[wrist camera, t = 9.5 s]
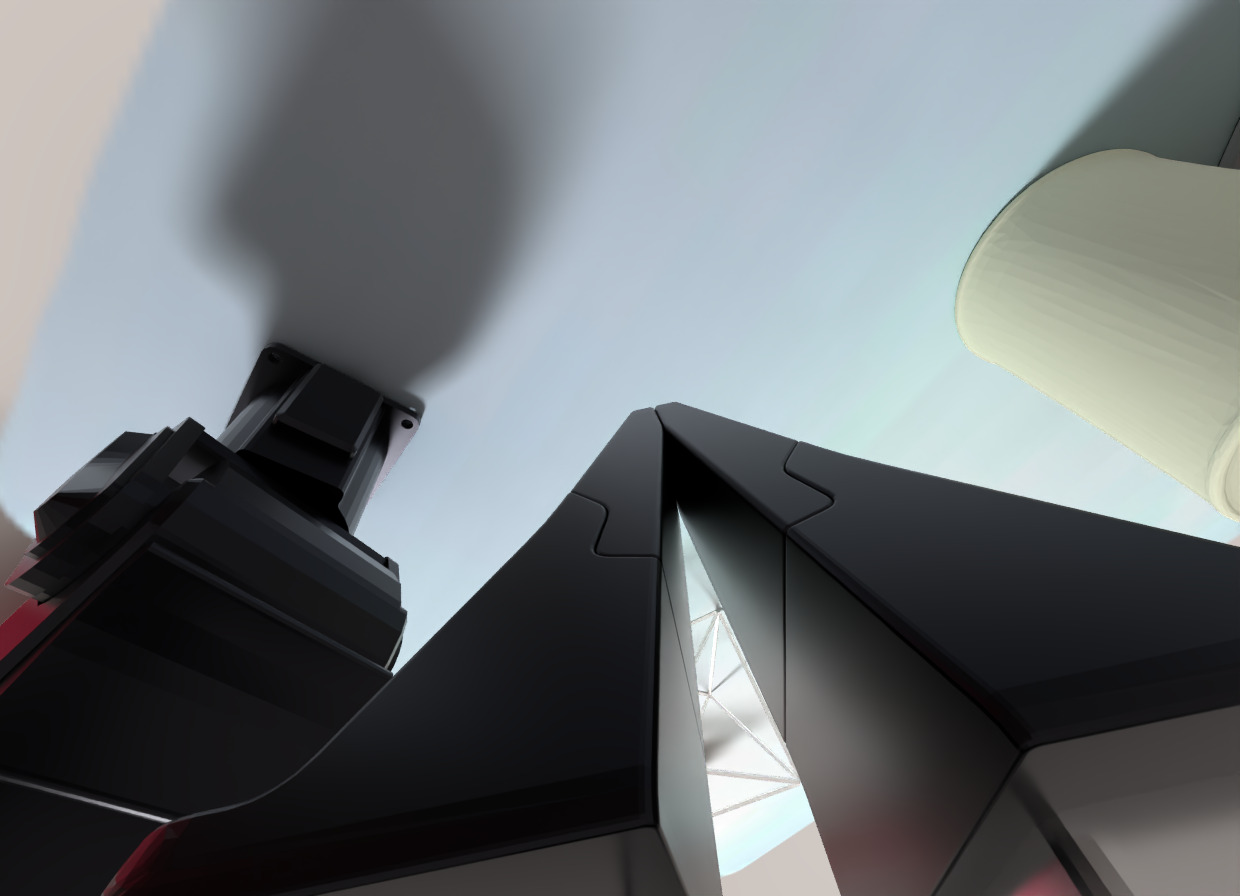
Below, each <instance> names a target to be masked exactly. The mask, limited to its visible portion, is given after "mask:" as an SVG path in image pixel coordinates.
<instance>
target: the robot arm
mask: <svg viewBox="0 0 1240 896" xmlns="http://www.w3.org/2000/svg"><path fill="white" fill-rule="evenodd" d="M273 352H274V353H277V354H279V355H280V356H281V358H282V360H279V359H277V358H275V357H274V356H273V354H272V353H273ZM406 419H407V420H410V421H411V422H412V423H413V424H406V423H405V422H404V420H406ZM420 422H421V420H420V417H419V415H418V414H417V413H415V412H414V411H412V410H410V409H408V408H406V407H404V406H402V405H400V404H398V403H396V402H394V401H392V400H390V399H388V398H386V397H384V396H383V395H381V393H379V392H378V391H376V390H374V389H372V388H370V387H368V386H366V385H364V384H362V383H360V382H358V381H356V380H354V379H352V378H350V377H349V376H347V375H345V374H343V373H341V372H339V371H337V370H335V369H333V368H331V367H329V366H327V365H325V364H320V363H318V362H316V361H314V360H312V359H311V358H309V357H307V356H305V355H303V354H301V353H299V352H297V351H295V350H293V349H291V348H289V347H287V346H285V345H283V344H280V343H271V344H269V345H268V346H266V347H265V348H264V350H263V351H262V352H261V354H260V356H259V358H258V361H257V363H256V365H255V367H254V369H253V371H252V374H251V376H250V378H249V380H248V382H247V384H246V387H245V389H244V391H243V393H242V395H241V397H240V400H239V402H238V404H237V406H236V408H235V410H234V413H233V415H232V417H231V419H230V421H229V423H228V426H227V428H226V430H225V431H224V432H223V433H222V434H221V435H220V436H219V437H218V438H217V440H216V439H214V438H213V437H212V436H210V435H209V434H207V433H206V432H204V430H205V427H203V426H202V425H201V424H199V423H198V422H196V421H195V420H193V419H192V418H191V417H188V418H187V419H185V420H184V421H183V422H181V423H180V424H179V425H177V426H176V427H175V428H173V429H171V428H170V427H168V426H167V427H165V428H164V429H162V430H161V431H160V432H158V433H154V434H144V433H135V432H124V433H123V434H122V435H120V436H119V437H118V438H117V439H115V440H114V441H113V442H112V443H110V444H109V445H108V446H107V447H106V448H104V449H103V450H102V451H101V452H100V453H98V454H97V455H96V456H95V457H94V458H92V459H91V460H90V461H89V462H88V463H87V464H85V465H84V466H83V467H82V468H81V469H79V470H78V471H77V472H76V473H75V474H74V475H72V476H71V477H70V478H69V479H68V480H67V481H66V482H65V483H63V484H62V485H61V486H60V487H59V488H58V489H57V490H56V491H55V492H54V493H53V494H52V495H51V496H50V497H49V498H48V499H46V500H45V501H44V502H43V503H42V504H41V505H40V506H39V507H38V508H37V509H36V510H35V511H34V521H35V531H36V538H35V540H34V541H33V542H32V543H31V544H30V545H29V547H28V548H27V550H26V551H25V553H24V555H25V556H24V558H23V559H22V560H21V562H20V563H19V564H18V566H17V567H16V569H15V570H14V571H13V573H12V574H11V576H10V577H9V578H8V580H7V581H6V582H5V585H4V586H5V587H7V588H9V589H12V590H14V591H16V592H19V593H21V594H23V595H26V596H28V597H30V598H29V599H28V600H27V601H25V603H23V604H22V605H21V606H20V607H19V608H18V609H17V610H16V611H15V612H14V613H13V614H12V615H11V616H10V617H9V618H8V619H7V620H6V621H5V622H3V624H1V625H0V896H723V895H722V888H721V880H720V873H719V865H718V858H717V850H716V843H715V835H714V828H713V820H712V812H711V804H710V796H709V788H708V779H707V770H706V763H705V752H704V743H703V733H702V724H701V715H700V705H699V696H698V687H697V678H696V668H695V659H694V650H693V641H692V631H691V622H690V613H689V603H688V594H687V585H686V576H685V566H684V557H683V548H682V538H681V529H680V521H679V514H678V509H679V512H680V515H681V517H682V520H683V522H684V524H685V527H686V529H687V531H688V533H689V535H690V537H691V540H692V542H693V544H694V546H695V548H696V551H697V553H698V555H699V557H700V559H701V562H702V564H703V566H704V568H705V570H706V572H707V575H708V577H709V579H710V581H711V583H712V586H713V588H714V590H715V592H716V594H717V596H718V599H719V601H720V603H721V605H722V607H723V610H724V612H725V614H726V616H727V618H728V621H729V623H730V625H731V627H732V629H733V631H734V634H735V636H736V638H737V640H738V642H739V645H740V647H741V649H742V651H743V653H744V656H745V658H746V660H747V662H748V664H749V666H750V669H751V671H752V673H753V675H754V677H755V680H756V682H757V684H758V686H759V688H760V690H761V693H762V695H763V697H764V699H765V701H766V704H767V706H768V708H769V710H770V712H771V715H772V717H773V719H774V721H775V723H776V725H777V728H778V730H779V732H780V734H781V736H782V739H783V741H784V742H785V743H786V747H787V749H788V751H789V754H790V756H791V758H792V761H793V763H794V765H795V768H796V770H797V773H798V775H799V778H800V780H801V783H802V785H803V788H804V791H805V793H806V796H807V799H808V802H809V805H810V807H811V810H812V813H813V816H814V819H815V822H816V824H817V828H818V831H819V833H820V836H821V839H822V842H823V845H824V848H825V851H826V854H827V856H828V859H829V862H830V865H831V868H832V871H833V874H834V877H835V879H836V882H837V885H838V888H839V891H840V894H841V896H1240V547H1237V546H1233V545H1229V544H1224V543H1220V542H1216V541H1212V540H1207V539H1203V538H1199V537H1194V536H1190V535H1186V534H1181V533H1177V532H1173V531H1169V530H1164V529H1160V528H1156V527H1151V526H1147V525H1143V524H1139V523H1134V522H1130V521H1126V520H1121V519H1117V518H1113V517H1108V516H1104V515H1100V514H1096V513H1091V512H1087V511H1083V510H1078V509H1074V508H1070V507H1066V506H1061V505H1057V504H1053V503H1048V502H1044V501H1040V500H1035V499H1031V498H1027V497H1023V496H1018V495H1014V494H1010V493H1005V492H1001V491H997V490H993V489H988V488H984V487H980V486H975V485H971V484H967V483H962V482H958V481H954V480H950V479H945V478H941V477H937V476H932V475H928V474H924V473H919V472H915V471H911V470H907V469H902V468H898V467H894V466H889V465H885V464H881V463H877V462H873V461H869V460H865V459H861V458H857V457H853V456H849V455H845V454H841V453H838V452H835V451H831V450H828V449H824V448H821V447H818V446H815V445H812V444H808V443H805V442H802V441H800V442H798V441H796V440H793V439H790V438H787V437H784V436H781V435H778V434H775V433H771V432H768V431H765V430H762V429H759V428H756V427H753V426H750V425H747V424H743V423H740V422H737V421H734V420H731V419H728V418H725V417H722V416H718V415H715V414H712V413H709V412H706V411H703V410H700V409H697V408H693V407H690V406H687V405H684V404H681V403H678V402H672V403H667V404H663V405H658V406H656V407H655V410H654V409H653V408H651V407H649V408H645V409H641V410H636V411H633V412H632V413H631V414H630V415H629V416H628V418H627V419H626V420H625V422H624V423H623V424H622V425H621V427H620V428H619V429H618V431H617V432H616V433H615V435H614V436H613V437H612V438H611V440H610V441H609V442H608V444H607V445H606V446H605V448H604V449H603V450H602V452H601V453H600V454H599V455H598V457H597V458H596V459H595V461H594V462H593V463H592V465H591V466H590V467H589V468H588V470H587V471H586V472H585V474H584V475H583V476H582V478H581V479H580V480H579V482H578V483H577V484H576V485H575V487H574V488H573V489H572V491H571V493H569V494H568V495H567V496H566V497H565V498H564V500H563V501H562V502H561V504H560V505H559V506H558V507H557V509H556V510H555V511H554V512H553V513H552V515H551V516H550V517H549V518H548V519H547V521H546V522H545V523H544V524H543V525H542V526H541V527H540V528H539V529H538V530H537V531H536V533H535V534H534V535H533V536H532V537H531V538H530V539H529V540H528V541H527V542H526V543H525V544H524V545H523V546H522V547H521V548H520V549H519V550H518V551H517V552H516V553H515V554H514V555H513V556H512V557H511V558H510V559H509V560H508V561H507V562H506V563H505V564H504V565H503V566H502V567H501V568H500V569H499V570H498V571H497V572H496V573H495V574H494V575H493V576H492V577H491V578H490V579H489V580H488V581H487V582H486V583H485V584H484V585H483V586H482V588H481V589H480V590H479V591H478V592H477V593H476V594H475V595H474V596H473V597H472V598H471V599H470V600H469V601H468V602H467V603H466V604H465V605H464V606H463V607H462V608H461V609H460V610H459V611H458V612H457V613H456V614H455V615H454V616H453V617H452V618H451V619H450V620H449V621H448V622H447V623H446V624H445V625H444V626H443V627H442V628H441V629H440V630H439V631H438V632H437V633H436V634H435V635H434V636H433V637H432V638H431V639H430V640H429V641H428V642H427V643H426V644H425V645H424V646H423V647H422V648H421V649H420V650H419V651H418V652H417V653H416V654H415V655H414V656H413V657H412V658H411V659H410V660H409V661H408V662H407V663H406V664H405V665H404V666H403V667H402V668H401V669H400V670H399V671H398V672H397V673H396V674H395V675H394V676H393V673H392V672H391V670H392V668H393V667H394V664H395V662H396V660H397V657H398V655H399V652H400V648H401V644H402V638H403V633H404V629H405V626H406V623H407V611H406V610H405V609H404V608H402V607H401V584H400V582H399V567H398V564H397V563H396V562H394V561H393V560H392V559H390V558H389V557H385V558H384V557H382V556H381V555H380V554H378V553H377V552H375V551H374V550H372V549H371V548H370V547H368V546H367V545H365V544H364V543H363V542H361V541H360V540H358V539H357V538H355V537H354V536H353V535H354V533H355V530H356V528H357V526H358V523H359V521H360V518H361V516H362V514H363V511H364V509H365V507H366V505H367V504H368V502H369V501H370V499H371V498H372V496H373V495H374V493H375V492H376V490H377V489H378V487H379V486H380V484H381V483H382V482H383V480H384V479H385V477H386V476H387V474H388V473H389V471H390V470H391V468H392V467H393V465H394V464H395V462H396V461H397V459H398V458H399V456H400V455H401V454H402V452H403V451H404V449H405V448H406V446H407V445H408V443H409V442H410V440H411V439H412V437H413V436H414V434H415V433H416V431H417V430H418V428H419V425H420ZM677 506H678V508H677Z"/></svg>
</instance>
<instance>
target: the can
mask: <svg viewBox="0 0 1240 896" xmlns="http://www.w3.org/2000/svg"><path fill="white" fill-rule="evenodd" d="M955 321H956V325H957V330H958V333H959V335H960V337H961V339H962V341H963V342H964V344H965V345H966V347H967V348H968V349H969V350H970V351H971V352H972V353H973V354H975V355H976V356H978V357H979V358H980V359H983V360H985V361H987V362H989V363H993V364H996V365H998V366H999V367H1001V368H1003V369H1005V370H1006V371H1008V372H1010V373H1011V374H1013V375H1014V376H1016V377H1018V378H1019V379H1021V380H1022V381H1024V382H1026V383H1027V384H1029V385H1030V386H1032V387H1033V388H1035V389H1037V390H1038V391H1040V392H1041V393H1043V394H1045V395H1046V396H1048V397H1049V398H1051V399H1052V400H1054V401H1056V402H1057V403H1059V404H1060V405H1062V406H1063V407H1065V408H1066V409H1068V410H1070V411H1071V412H1073V413H1074V414H1076V415H1077V416H1079V417H1080V418H1082V419H1083V420H1085V421H1087V422H1088V423H1090V424H1091V425H1093V426H1094V427H1096V428H1097V429H1099V430H1101V431H1102V432H1104V433H1105V434H1107V435H1108V436H1110V437H1111V438H1113V439H1114V440H1116V441H1117V442H1119V443H1120V444H1122V445H1123V446H1125V447H1126V448H1128V449H1129V450H1131V451H1132V452H1134V453H1135V454H1137V455H1138V456H1140V457H1142V458H1143V459H1145V460H1146V461H1148V462H1149V463H1151V464H1152V465H1154V466H1155V467H1157V468H1158V469H1160V470H1161V471H1163V472H1164V473H1166V474H1167V475H1169V476H1170V477H1172V478H1173V479H1175V480H1176V481H1178V482H1179V483H1181V484H1182V485H1184V486H1185V487H1187V488H1188V489H1190V490H1191V491H1192V492H1194V493H1195V494H1197V495H1198V496H1199V497H1201V498H1202V499H1204V500H1205V501H1207V502H1208V503H1209V504H1211V505H1212V506H1213V507H1214V508H1215V509H1216V510H1217V511H1218V512H1220V513H1221V514H1222V515H1224V516H1225V517H1227V518H1230V519H1232V520H1234V521H1237V522H1240V170H1237V169H1229V168H1222V167H1215V166H1208V165H1201V164H1195V163H1189V162H1182V161H1176V160H1170V159H1165V158H1159V157H1156V156H1154V155H1152V154H1150V153H1147V152H1144V151H1139V150H1134V149H1112V150H1105V151H1100V152H1095V153H1092V154H1089V155H1086V156H1083V157H1080V158H1078V159H1075V160H1073V161H1071V162H1068V163H1066V164H1064V165H1062V166H1060V167H1058V168H1056V169H1055V170H1053V171H1051V172H1049V173H1048V174H1046V175H1045V176H1043V177H1042V178H1040V179H1039V180H1038V181H1036V182H1035V183H1033V184H1032V185H1031V186H1029V187H1028V188H1027V189H1026V190H1025V191H1023V192H1022V193H1021V194H1020V195H1019V196H1017V197H1016V198H1015V199H1014V200H1013V201H1012V202H1011V203H1010V204H1009V205H1008V206H1007V207H1006V208H1005V209H1004V210H1003V211H1002V212H1001V213H1000V214H999V216H998V217H997V218H996V219H995V220H994V221H993V223H992V224H991V225H990V227H989V228H988V229H987V230H986V232H985V233H984V234H983V236H982V237H981V239H980V240H979V242H978V244H977V245H976V247H975V248H974V250H973V252H972V254H971V256H970V257H969V259H968V261H967V264H966V266H965V268H964V271H963V273H962V276H961V279H960V282H959V285H958V290H957V294H956V302H955Z"/></svg>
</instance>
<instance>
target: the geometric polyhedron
mask: <svg viewBox="0 0 1240 896" xmlns="http://www.w3.org/2000/svg"><path fill="white" fill-rule="evenodd" d="M712 615H714V617H713V619H712V622H711V624H710V626H709V628H708V630H707V632H706V634H705V637H704V639H703V641H702V643H701V645H700V647H699V649H698V652H697V654H696V656H695V658H694V659H695V665H696V663H697V660H698V658H699V656H700V654H701V652H702V650H703V647H704V645H705V643H706V641H707V639H708V637H709V634H710V632H711V630H712V628H713V626H714V624H715V631H714V641H713V650H712V660H711V670H710V679H709V689H708V693H705V692H699V691H698V694H699V695H704V696H707V698H706V700H705V703H704V705H703V707H702V710H701V712H700V715H701V717H702V715H703V713H704V710H705V708H706V705H707V703H708V701H709V698H711V699H712V700H713V701H714V702H715V703H716V704H717V705H718V706H719V707H720V708H721V709H723V710H724V711H725V712H726V713H727V714H728V715H729V716H730V717H731V718H732V719H733V720H734V721H735V722H736V723H737V724H738V725H739V726H740V727H741V728H742V729H743V730H744V731H746V732H747V733H748V734H749V735H750V736H751V737H752V738H753V739H754V740H755V741H756V742H757V743H758V744H759V745H760V746H761V747H762V748H763V749H764V750H765V751H766V752H767V753H768V754H770V755H771V756H772V757H773V758H774V759H775V760H776V761H777V762H778V763H779V764H780V765H781V766H782V767H783V768H784V769H785V770H786V771H787V772H788V773H789V774H790V775H791V776H793V777H794V778H795V779H792V778H783V777H775V776H766V775H758V774H749V773H741V772H732V771H724V770H715V769H707V768H706V770H707V774H711V775H720V776H729V777H738V778H747V779H756V780H764V781H773V782H782V783H791V784H788V785H786V786H783V787H780V788H777V789H775V790H772V791H769V792H766V793H764V794H761V795H758V796H755V797H753V798H750V799H747V800H745V801H742V802H739V803H736V804H734V805H731V806H728V807H725V808H723V809H720V810H717V811H715V812H712V817H714V816H717V815H720V814H723V813H725V812H728V811H731V810H734V809H736V808H739V807H742V806H745V805H747V804H750V803H753V802H756V801H758V800H761V799H764V798H767V797H769V796H772V795H775V794H778V793H780V792H783V791H786V790H789V789H791V788H794V787H797V786H799V785H800V782H801V780H800V778H799V775H798V773H797V770H796V768H795V765H794V763H793V761H792V758H791V756H790V754H789V751H788V749H787V747H786V745H785V743H784V741H783V739H782V737H781V735H780V733H779V731H778V728H777V726H776V724H775V722H774V720H773V718H772V716H771V714H770V712H769V710H768V708H767V706H766V704H765V702H764V700H763V698H762V696H761V694H760V692H759V690H758V687H757V685H756V683H755V681H754V679H753V677H752V675H751V673H750V671H749V669H748V667H747V665H746V663H745V661H744V659H743V657H742V655H741V653H740V651H739V649H738V646H737V644H736V642H735V640H734V638H733V636H732V634H731V632H730V630H729V628H728V626H727V624H726V622H725V620H724V618H723V616H722V614H721V613H720V612H717V611H714V612H712V613H710V614H708V615H705V616H703V617H701V618H699V619H697V620H695V621H693V622H691V625H693V624H695V623H698V622H700V621H702V620H704V619H706V618H708V617H710V616H712ZM719 617H720V619H721V621H722V624H723V626H724V628H725V630H726V632H727V634H728V636H729V638H730V640H731V642H732V644H733V646H734V648H735V650H736V652H737V654H738V656H739V659H740V661H741V663H742V665H743V667H744V669H745V671H746V673H747V675H748V677H749V679H750V681H751V683H752V685H753V687H754V689H755V692H756V694H757V696H758V698H759V700H760V702H761V704H762V706H763V708H764V710H765V712H766V714H767V716H768V718H769V720H770V722H771V724H772V727H773V729H774V731H775V733H776V735H777V737H778V739H779V741H780V743H781V745H782V747H783V749H784V751H785V753H786V755H787V757H788V760H789V762H790V764H791V766H792V768H793V770H794V772H795V773H794V772H793V771H792V770H791V769H790V768H789V767H788V766H787V765H786V764H785V763H784V762H783V761H782V760H781V759H780V758H779V757H777V756H776V755H775V754H774V753H773V752H772V751H771V750H770V749H769V748H768V747H767V746H766V745H765V744H764V743H763V742H762V741H760V740H759V739H758V738H757V737H756V736H755V735H754V734H753V733H752V732H751V731H750V730H749V729H748V728H747V727H746V726H745V725H743V724H742V723H741V722H740V721H739V720H738V719H737V718H736V717H735V716H734V715H733V714H732V713H731V712H730V711H729V710H728V709H726V708H725V707H724V706H723V705H722V704H721V703H720V702H719V701H718V700H717V699H716V698H715V697H714V696H713V695H712V694H711V689H712V680H713V671H714V662H715V653H716V644H717V635H718V626H719Z"/></svg>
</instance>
